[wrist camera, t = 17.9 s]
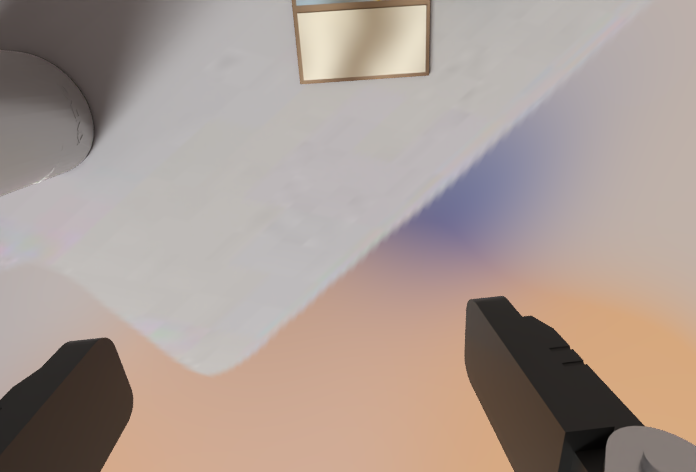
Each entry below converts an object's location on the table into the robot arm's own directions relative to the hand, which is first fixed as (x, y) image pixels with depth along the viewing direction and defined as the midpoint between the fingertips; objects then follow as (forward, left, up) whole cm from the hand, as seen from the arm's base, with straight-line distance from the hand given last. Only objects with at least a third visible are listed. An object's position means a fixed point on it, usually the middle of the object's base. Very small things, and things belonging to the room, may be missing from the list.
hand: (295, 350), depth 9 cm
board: (+4, +10, -25) cm, 28 cm away
